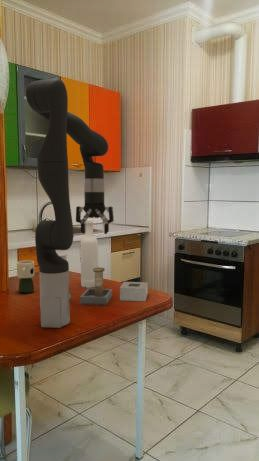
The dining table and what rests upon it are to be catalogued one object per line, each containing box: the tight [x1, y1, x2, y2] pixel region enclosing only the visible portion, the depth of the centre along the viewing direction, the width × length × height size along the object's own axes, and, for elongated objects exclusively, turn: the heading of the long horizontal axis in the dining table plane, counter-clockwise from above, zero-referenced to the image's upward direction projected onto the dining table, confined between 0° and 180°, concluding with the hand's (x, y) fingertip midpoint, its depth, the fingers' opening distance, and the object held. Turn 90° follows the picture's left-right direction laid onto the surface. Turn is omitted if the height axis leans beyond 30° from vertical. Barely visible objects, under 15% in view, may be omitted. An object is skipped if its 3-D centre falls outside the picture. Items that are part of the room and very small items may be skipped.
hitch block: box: [119, 281, 149, 302], centre depth 149 cm, size 10×10×5 cm
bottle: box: [79, 218, 99, 289], centre depth 167 cm, size 8×8×30 cm
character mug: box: [16, 260, 36, 294], centre depth 157 cm, size 11×7×13 cm, turn 5°
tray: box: [79, 288, 113, 306], centre depth 145 cm, size 12×10×3 cm
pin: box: [93, 267, 105, 297], centre depth 145 cm, size 4×4×12 cm
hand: (94, 233), depth 143 cm, fingers open, 8 cm apart
